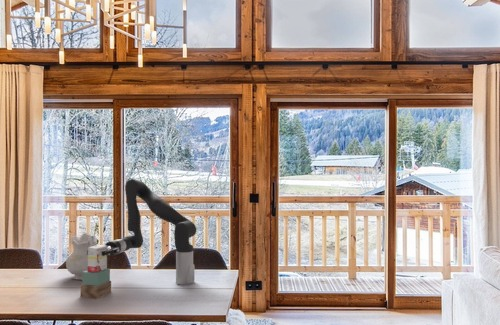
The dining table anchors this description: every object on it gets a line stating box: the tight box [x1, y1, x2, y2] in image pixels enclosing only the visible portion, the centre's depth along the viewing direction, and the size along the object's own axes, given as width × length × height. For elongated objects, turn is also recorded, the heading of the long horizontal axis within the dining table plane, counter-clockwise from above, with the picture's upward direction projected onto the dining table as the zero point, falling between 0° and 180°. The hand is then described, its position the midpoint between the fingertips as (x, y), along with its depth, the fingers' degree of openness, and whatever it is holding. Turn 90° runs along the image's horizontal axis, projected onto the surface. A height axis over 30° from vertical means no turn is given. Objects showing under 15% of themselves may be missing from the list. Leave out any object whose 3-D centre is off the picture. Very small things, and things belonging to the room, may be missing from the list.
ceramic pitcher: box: [65, 232, 98, 281], centre depth 224 cm, size 22×20×25 cm
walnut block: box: [80, 280, 112, 300], centre depth 193 cm, size 10×10×6 cm
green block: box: [81, 268, 111, 286], centre depth 193 cm, size 9×9×6 cm
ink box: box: [88, 244, 108, 272], centre depth 194 cm, size 9×5×12 cm, turn 159°
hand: (95, 253), depth 193 cm, fingers open, 8 cm apart
